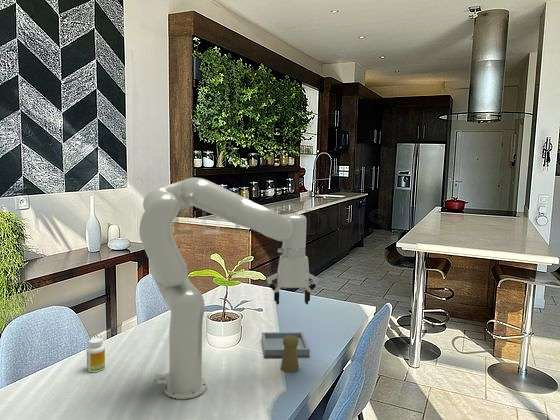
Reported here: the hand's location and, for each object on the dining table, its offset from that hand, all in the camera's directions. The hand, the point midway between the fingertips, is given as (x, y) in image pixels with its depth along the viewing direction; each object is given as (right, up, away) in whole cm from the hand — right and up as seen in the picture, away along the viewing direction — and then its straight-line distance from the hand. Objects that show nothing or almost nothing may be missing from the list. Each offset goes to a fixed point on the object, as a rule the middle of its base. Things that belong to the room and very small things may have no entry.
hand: (291, 303), depth 146 cm
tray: (-2, -20, +18) cm, 27 cm away
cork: (-1, -22, +2) cm, 23 cm away
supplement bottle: (-64, -21, -3) cm, 67 cm away
